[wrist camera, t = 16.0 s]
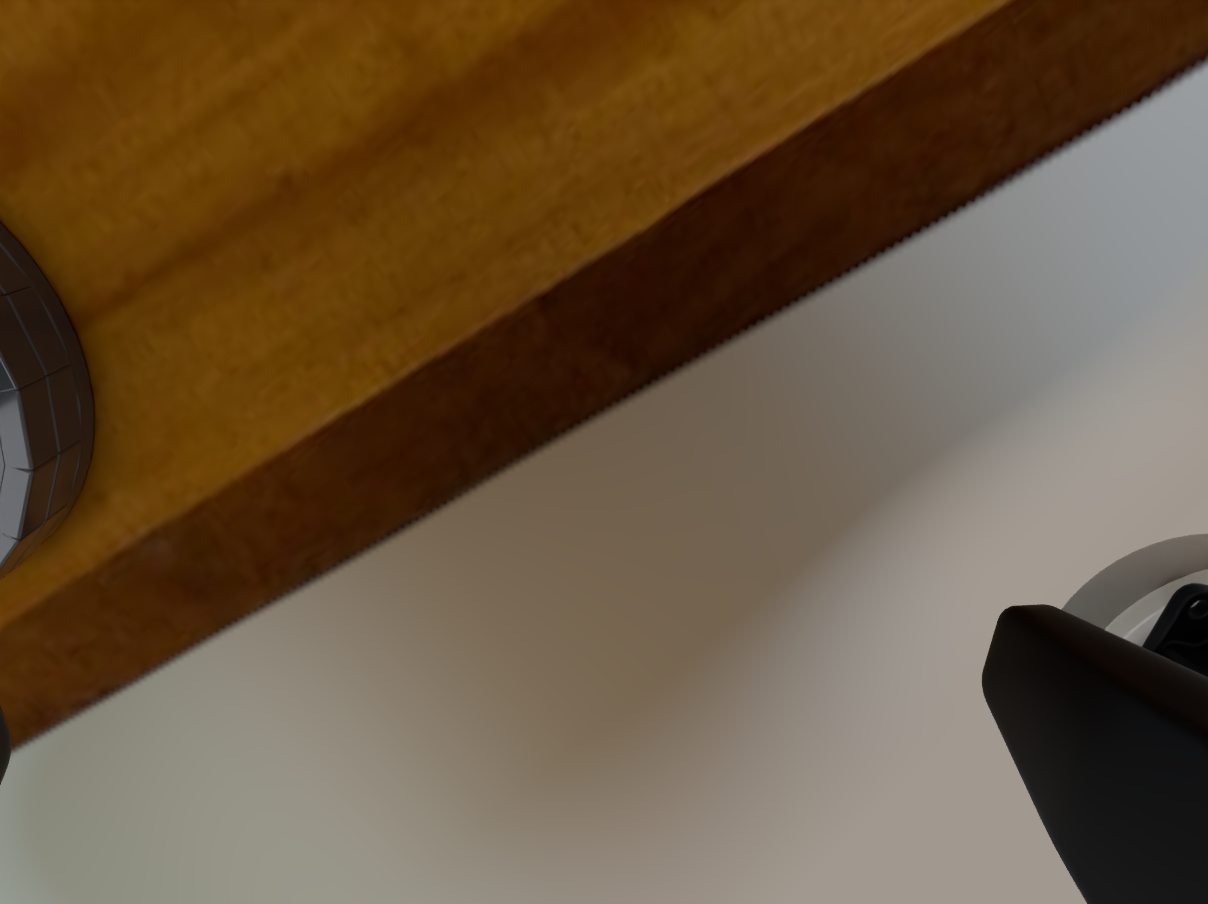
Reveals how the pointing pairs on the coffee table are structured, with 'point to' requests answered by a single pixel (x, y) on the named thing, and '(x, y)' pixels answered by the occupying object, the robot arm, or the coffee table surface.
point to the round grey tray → (37, 408)
